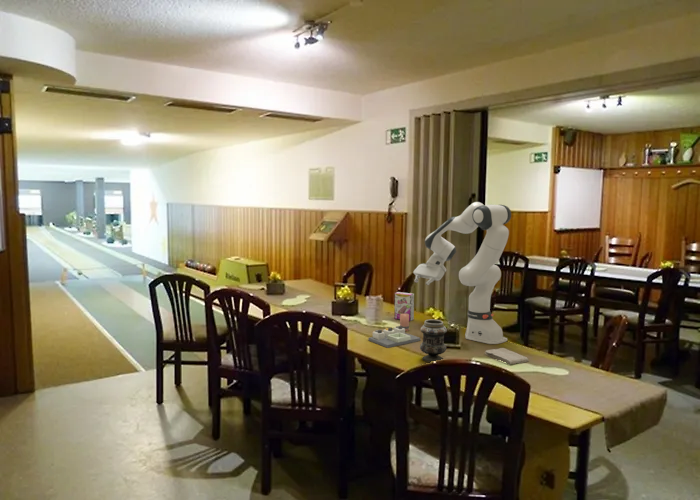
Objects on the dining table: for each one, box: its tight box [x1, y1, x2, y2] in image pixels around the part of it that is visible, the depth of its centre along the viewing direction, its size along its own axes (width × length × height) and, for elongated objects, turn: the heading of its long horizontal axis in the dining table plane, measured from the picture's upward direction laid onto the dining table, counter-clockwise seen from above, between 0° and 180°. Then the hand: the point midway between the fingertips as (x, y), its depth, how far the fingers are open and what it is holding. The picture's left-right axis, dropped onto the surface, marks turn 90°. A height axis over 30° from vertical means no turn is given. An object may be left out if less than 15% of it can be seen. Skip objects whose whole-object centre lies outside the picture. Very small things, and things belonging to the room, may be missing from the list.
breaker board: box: [367, 325, 421, 349], centre depth 262 cm, size 16×22×6 cm
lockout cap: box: [399, 313, 410, 332], centre depth 283 cm, size 5×5×9 cm
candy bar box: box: [394, 291, 415, 322], centre depth 307 cm, size 11×5×16 cm, turn 58°
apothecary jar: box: [419, 318, 448, 363], centre depth 231 cm, size 12×12×18 cm
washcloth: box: [484, 347, 529, 365], centre depth 233 cm, size 12×18×3 cm, turn 26°
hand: (421, 283), depth 288 cm, fingers open, 8 cm apart
